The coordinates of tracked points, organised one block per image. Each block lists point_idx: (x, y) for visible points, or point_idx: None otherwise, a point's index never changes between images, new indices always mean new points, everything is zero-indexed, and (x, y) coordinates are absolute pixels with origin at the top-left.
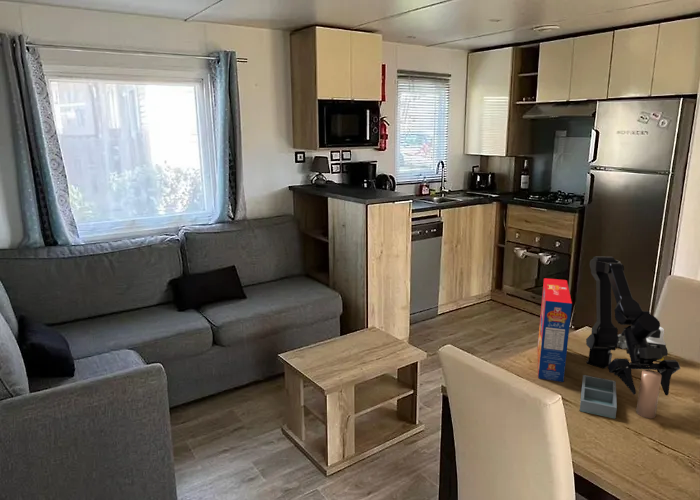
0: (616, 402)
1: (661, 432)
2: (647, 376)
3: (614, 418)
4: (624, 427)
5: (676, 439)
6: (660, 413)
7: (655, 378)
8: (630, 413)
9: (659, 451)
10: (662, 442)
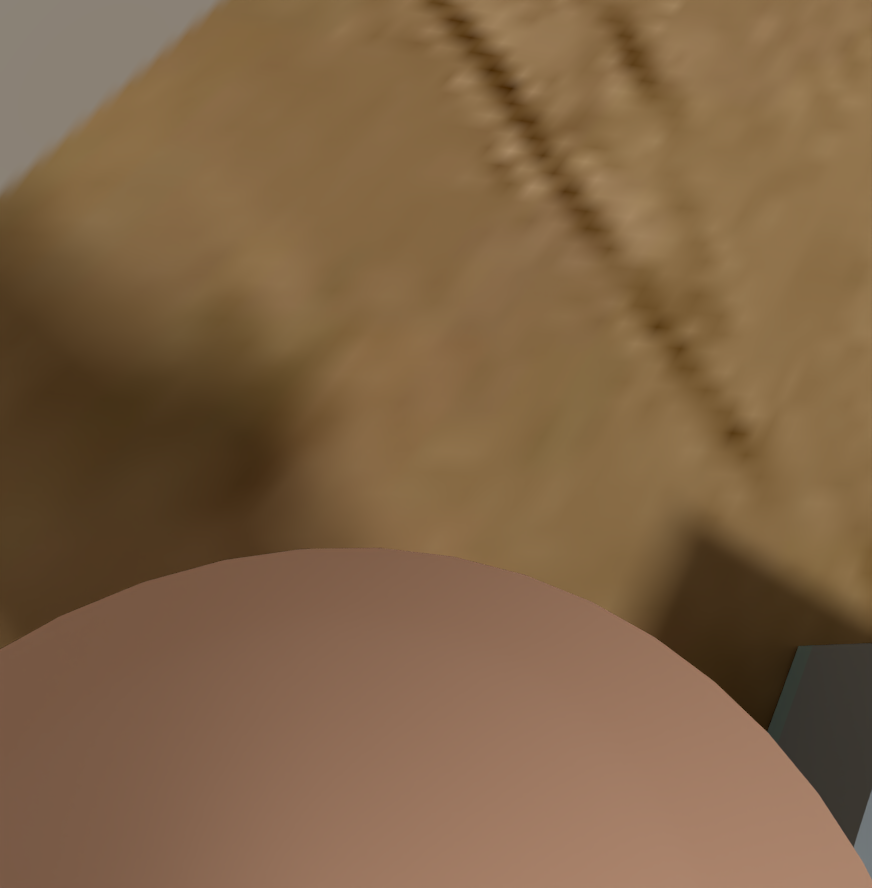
0: (857, 835)
1: (382, 308)
2: (825, 812)
3: (808, 650)
4: (767, 449)
5: (298, 165)
6: None
7: (457, 558)
8: None
9: (620, 30)
10: (499, 142)
